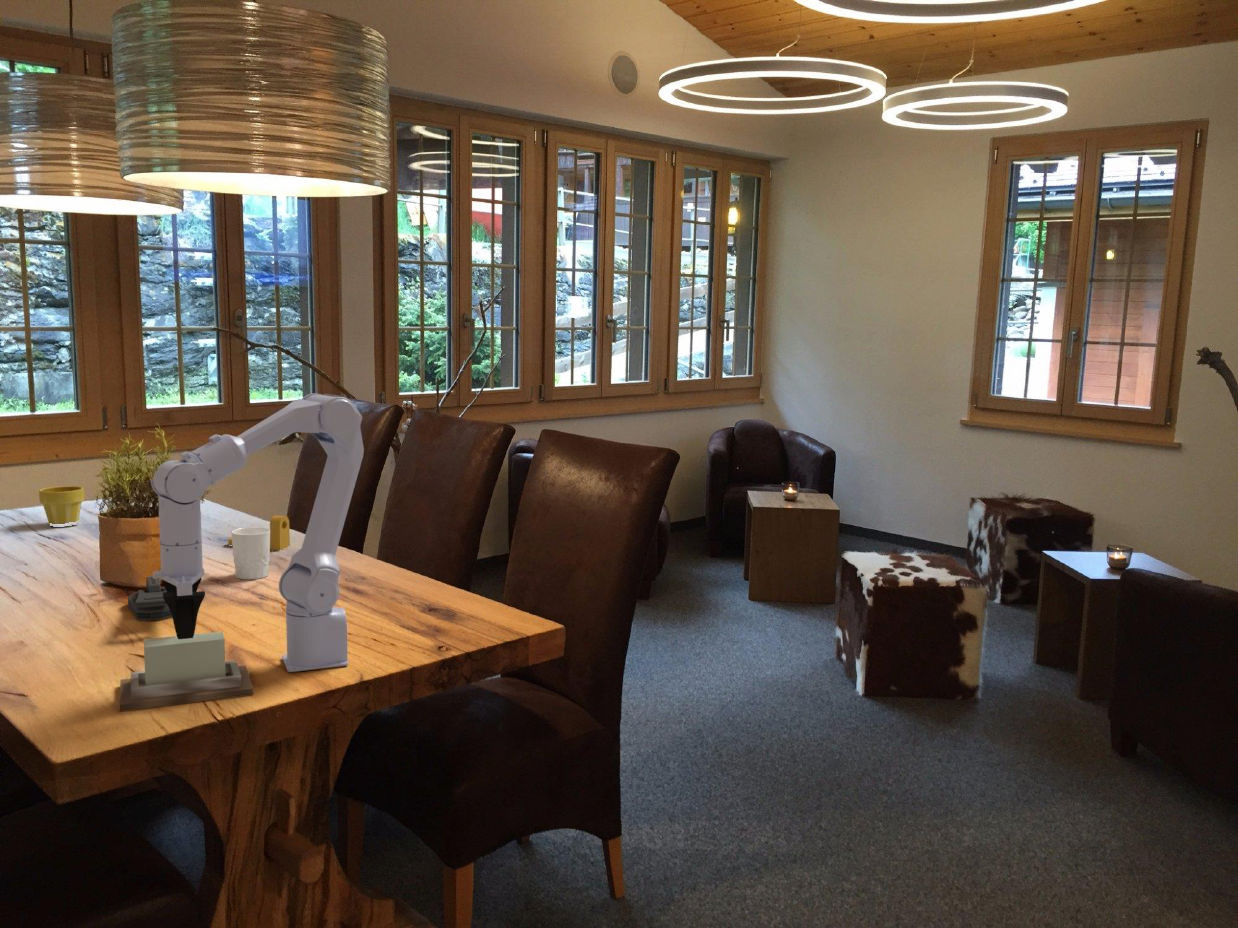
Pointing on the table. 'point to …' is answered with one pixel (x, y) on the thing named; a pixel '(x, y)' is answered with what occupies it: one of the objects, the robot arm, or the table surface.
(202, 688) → the plate
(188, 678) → the pale green block
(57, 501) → the plant pot
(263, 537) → the white cup
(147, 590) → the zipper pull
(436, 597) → the table surface
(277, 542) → the bracket
